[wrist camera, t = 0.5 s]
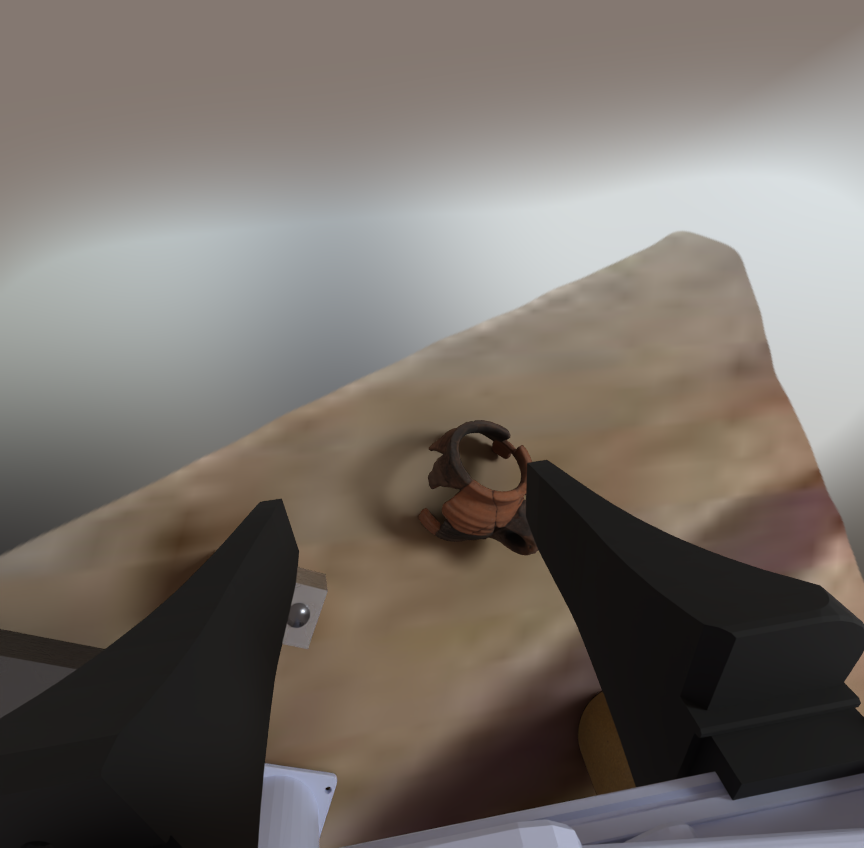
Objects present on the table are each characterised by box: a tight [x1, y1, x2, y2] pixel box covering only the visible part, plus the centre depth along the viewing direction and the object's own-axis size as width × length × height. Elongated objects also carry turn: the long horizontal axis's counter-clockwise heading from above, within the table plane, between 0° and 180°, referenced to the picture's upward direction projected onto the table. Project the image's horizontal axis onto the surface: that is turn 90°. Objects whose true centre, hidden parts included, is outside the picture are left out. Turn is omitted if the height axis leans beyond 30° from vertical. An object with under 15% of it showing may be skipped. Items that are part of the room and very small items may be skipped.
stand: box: [0, 629, 105, 718], centre depth 27 cm, size 11×11×3 cm
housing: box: [282, 567, 328, 649], centre depth 30 cm, size 8×4×5 cm, turn 71°
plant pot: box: [578, 692, 636, 795], centre depth 32 cm, size 15×15×16 cm
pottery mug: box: [418, 420, 538, 555], centre depth 35 cm, size 12×10×8 cm
